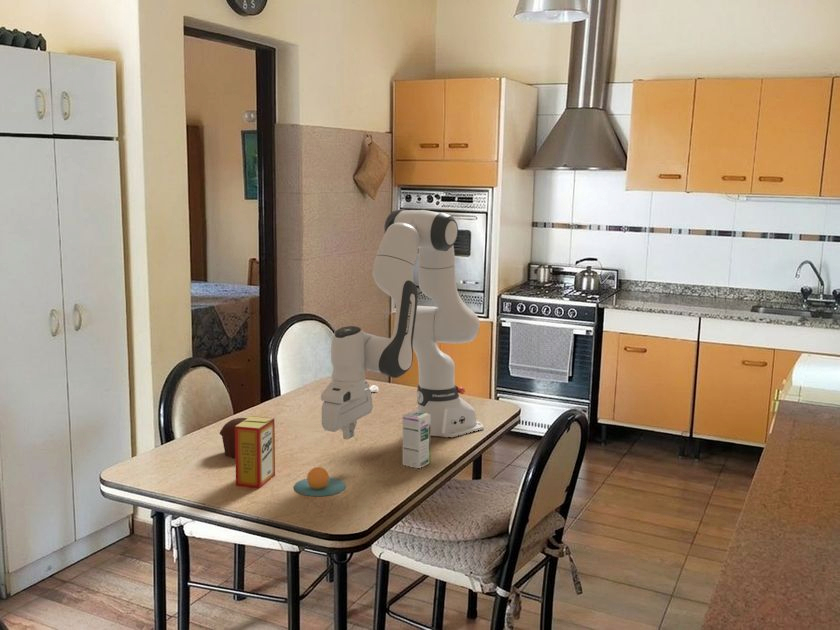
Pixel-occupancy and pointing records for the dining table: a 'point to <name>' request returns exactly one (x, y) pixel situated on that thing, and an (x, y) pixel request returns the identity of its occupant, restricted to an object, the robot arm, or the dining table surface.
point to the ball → (317, 478)
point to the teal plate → (330, 489)
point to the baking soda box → (255, 451)
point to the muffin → (230, 436)
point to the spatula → (374, 388)
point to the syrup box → (416, 439)
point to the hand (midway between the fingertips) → (348, 437)
